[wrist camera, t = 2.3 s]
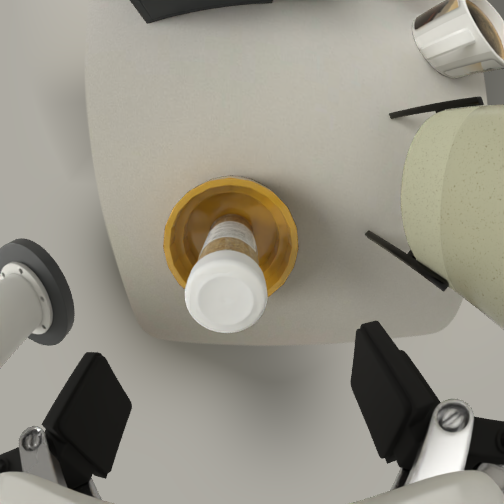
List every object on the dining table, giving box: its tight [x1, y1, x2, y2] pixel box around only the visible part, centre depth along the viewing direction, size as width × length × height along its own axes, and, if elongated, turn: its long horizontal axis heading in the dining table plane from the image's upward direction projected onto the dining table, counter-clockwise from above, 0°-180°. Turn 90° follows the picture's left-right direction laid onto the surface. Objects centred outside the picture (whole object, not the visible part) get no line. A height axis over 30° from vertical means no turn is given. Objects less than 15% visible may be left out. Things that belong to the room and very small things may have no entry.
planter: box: [365, 97, 504, 330], centre depth 15 cm, size 15×16×23 cm
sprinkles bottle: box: [185, 214, 268, 333], centre depth 21 cm, size 5×5×13 cm
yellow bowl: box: [163, 175, 299, 297], centre depth 25 cm, size 12×12×4 cm
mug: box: [412, 0, 504, 78], centre depth 15 cm, size 10×12×11 cm
